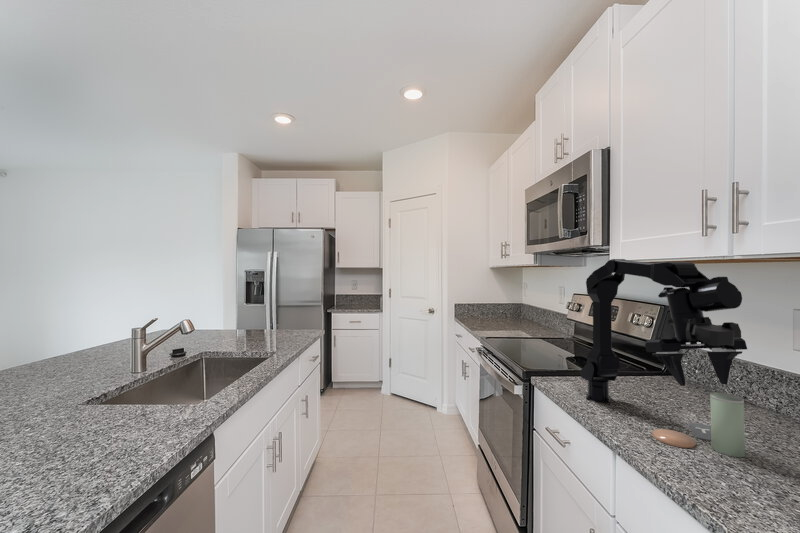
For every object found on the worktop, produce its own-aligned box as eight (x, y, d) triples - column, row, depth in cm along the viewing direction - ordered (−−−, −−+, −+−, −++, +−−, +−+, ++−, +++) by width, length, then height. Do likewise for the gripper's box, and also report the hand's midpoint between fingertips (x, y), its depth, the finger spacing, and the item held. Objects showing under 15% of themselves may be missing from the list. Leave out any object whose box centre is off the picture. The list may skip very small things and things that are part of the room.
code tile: (688, 422, 89) (688, 421, 89) (729, 430, 85) (729, 428, 85) (695, 438, 81) (695, 436, 81) (741, 447, 77) (741, 445, 77)
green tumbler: (708, 442, 79) (707, 390, 79) (741, 448, 76) (739, 395, 76) (714, 452, 74) (712, 398, 75) (749, 460, 71) (747, 403, 72)
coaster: (651, 428, 86) (651, 426, 86) (692, 436, 82) (692, 434, 82) (654, 441, 79) (654, 439, 79) (698, 451, 75) (698, 448, 75)
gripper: (673, 311, 70) (692, 390, 67) (762, 308, 70) (785, 387, 67) (637, 316, 81) (651, 385, 77) (714, 314, 81) (732, 382, 77)
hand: (703, 384), depth 74 cm, fingers open, 9 cm apart
